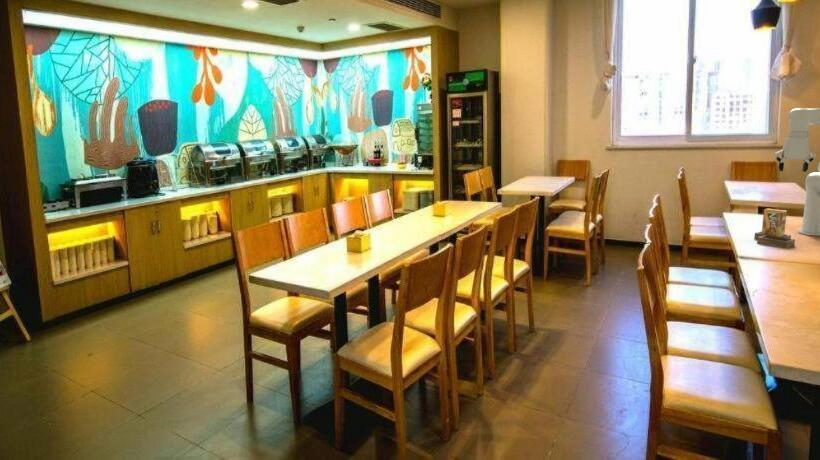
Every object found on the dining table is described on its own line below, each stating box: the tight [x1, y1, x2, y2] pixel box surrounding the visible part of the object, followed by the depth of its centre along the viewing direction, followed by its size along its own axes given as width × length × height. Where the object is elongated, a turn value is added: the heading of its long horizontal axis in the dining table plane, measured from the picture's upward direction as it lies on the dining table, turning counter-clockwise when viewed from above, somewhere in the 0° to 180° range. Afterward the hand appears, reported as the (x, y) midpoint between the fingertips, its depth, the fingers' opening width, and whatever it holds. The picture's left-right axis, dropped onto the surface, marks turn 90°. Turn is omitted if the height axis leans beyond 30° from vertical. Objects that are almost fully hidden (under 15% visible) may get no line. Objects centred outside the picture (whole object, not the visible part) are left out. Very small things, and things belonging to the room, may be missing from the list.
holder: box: [754, 230, 796, 249], centre depth 270 cm, size 16×18×3 cm
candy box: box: [761, 208, 788, 237], centre depth 273 cm, size 9×4×15 cm, turn 34°
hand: (792, 171), depth 266 cm, fingers open, 9 cm apart
